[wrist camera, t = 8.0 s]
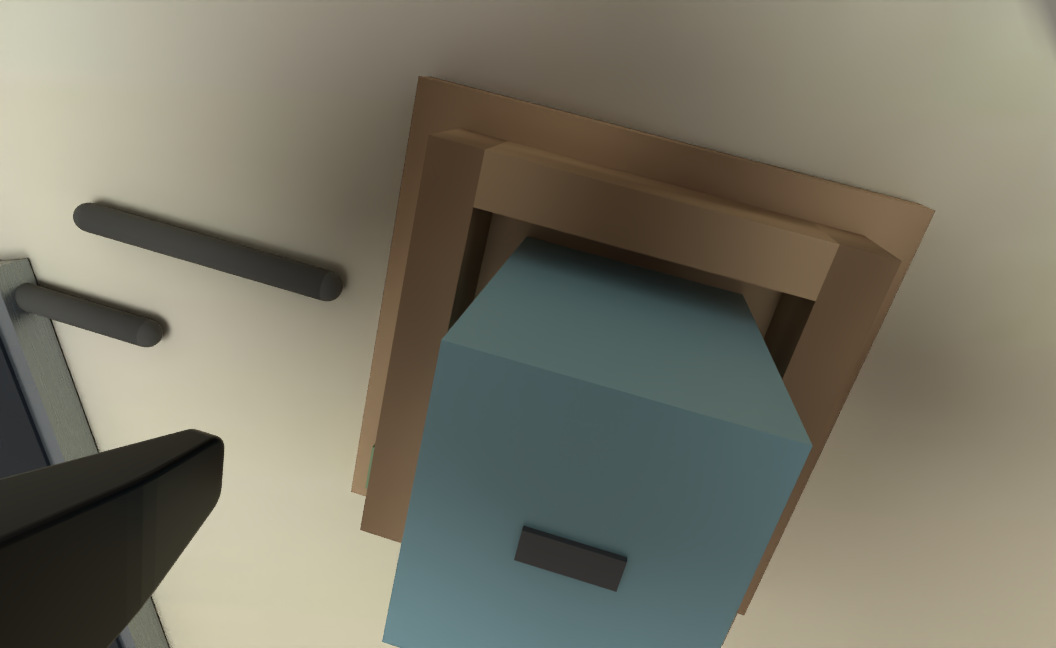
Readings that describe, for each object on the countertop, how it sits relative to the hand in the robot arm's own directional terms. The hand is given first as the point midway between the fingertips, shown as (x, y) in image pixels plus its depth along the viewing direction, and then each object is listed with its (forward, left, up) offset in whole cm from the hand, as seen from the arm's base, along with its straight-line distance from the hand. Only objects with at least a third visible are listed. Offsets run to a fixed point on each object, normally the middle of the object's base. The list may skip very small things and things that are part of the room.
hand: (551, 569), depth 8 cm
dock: (0, 0, -7) cm, 7 cm away
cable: (+12, +1, -7) cm, 14 cm away
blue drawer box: (0, 0, -6) cm, 7 cm away
